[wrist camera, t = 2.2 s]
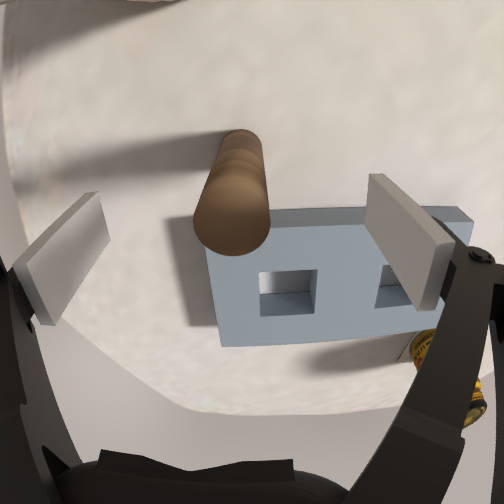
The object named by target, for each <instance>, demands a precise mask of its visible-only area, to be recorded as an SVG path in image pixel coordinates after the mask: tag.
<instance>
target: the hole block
mask: <svg viewBox="0 0 504 504" xmlns="http://www.w3.org/2000/svg"><path fill="white" fill-rule="evenodd" d="M421 208H422V209H423V210H424V211H425V212H426V213H428V214H429V215H430V216H433V217H435V218H437V219H438V220H440V221H442V222H443V223H444V224H445V225H446V226H447V227H448V228H449V229H450V230H451V231H452V232H453V233H454V234H455V235H456V236H457V237H458V238H459V239H460V240H461V241H462V242H463V243H464V244H465V245H466V246H467V247H468V245H469V241H470V237H471V234H472V230H473V226H474V221H473V220H472V219H471V218H469V217H468V216H467V215H466V214H465V213H464V212H463V211H462V210H460V209H459V208H458V207H421ZM269 211H270V220H271V226H270V231H269V234H268V236H267V238H266V240H265V241H264V243H263V244H262V245H261V246H260V247H259V248H257V249H256V250H254V251H253V252H251V253H248V254H246V255H242V256H224V255H220V254H217V253H215V252H213V251H211V250H210V249H208V248H207V247H206V246H205V251H206V258H207V264H208V270H209V277H210V283H211V289H212V295H213V301H214V307H215V313H216V318H217V324H218V330H219V335H220V341H221V346H222V347H242V346H268V345H287V344H303V343H316V342H328V341H339V340H350V339H359V338H368V337H377V336H385V335H393V334H400V333H407V332H414V331H421V330H427V329H434V328H436V326H437V324H438V321H439V319H440V316H441V313H442V310H443V308H444V305H445V303H444V301H443V300H442V298H441V297H440V298H439V301H438V304H437V307H436V309H435V310H432V311H425V312H418V313H417V311H416V309H415V307H414V306H413V304H412V302H411V300H410V299H409V297H408V295H407V293H406V292H405V290H404V288H403V287H402V285H394V286H382V287H379V284H380V279H381V274H382V269H383V265H389V263H388V262H387V260H386V259H385V257H384V255H383V254H382V252H381V251H380V249H379V247H378V246H377V244H376V243H375V241H374V240H373V238H372V237H371V235H370V234H369V232H368V231H367V229H366V228H365V226H364V225H365V216H366V207H350V208H315V209H288V210H269ZM294 270H311V276H310V292H297V293H278V294H259V276H258V272H274V271H294Z"/></svg>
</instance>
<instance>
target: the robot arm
mask: <svg viewBox="0 0 504 504" xmlns="http://www.w3.org/2000/svg"><path fill="white" fill-rule="evenodd" d="M364 226H365V228H366V229H367V231H368V232H369V234H370V235H371V237H372V238H373V240H374V241H375V243H376V244H377V246H378V247H379V249H380V251H381V252H382V254H383V255H384V257H385V259H386V260H387V262H388V263H389V265H390V267H391V268H392V270H393V272H394V273H395V275H396V277H397V278H398V280H399V282H400V283H401V285H402V287H403V288H404V290H405V292H406V293H407V295H408V297H409V299H410V300H411V302H412V304H413V306H414V307H415V309H416V311H417V313H418V312H425V311H432V310H435V309H436V307H437V304H438V301H439V298H440V297H441V298H442V300H443V301H444V303H445V305H444V308H443V310H442V313H441V316H440V319H439V321H438V324H437V326H436V329H435V332H434V334H433V337H432V340H431V342H430V344H429V347H428V349H427V352H426V354H425V356H424V359H423V361H422V363H421V366H420V368H419V370H418V372H417V374H416V377H415V379H414V381H413V383H412V385H411V387H410V389H409V391H408V393H407V395H406V397H405V399H404V401H403V403H402V405H401V407H400V409H399V411H398V413H397V415H396V416H395V418H394V420H393V422H392V424H391V426H390V428H389V429H388V431H387V433H386V434H385V436H384V438H383V440H382V441H381V443H380V445H379V446H378V448H377V450H376V452H375V453H374V455H373V456H372V458H371V459H370V461H369V463H368V464H367V466H366V467H365V469H364V470H363V472H362V473H361V475H360V476H359V478H358V479H357V481H356V482H355V483H354V485H353V486H352V488H351V489H350V491H348V490H346V489H345V488H343V487H342V486H340V485H339V484H337V483H335V482H333V481H331V480H329V479H327V478H324V477H321V476H318V475H316V474H311V473H307V472H303V471H296V470H294V468H293V459H286V460H269V461H242V462H237V463H233V464H228V465H223V466H218V467H213V468H208V469H202V470H196V471H186V470H182V469H179V468H176V467H173V466H170V465H167V464H163V463H161V462H158V461H155V460H153V459H150V458H147V457H145V456H141V455H134V454H127V453H120V452H115V451H109V450H103V449H101V451H100V455H99V459H98V461H92V462H87V463H83V462H82V460H81V459H80V457H79V455H78V453H77V451H76V449H75V447H74V444H73V442H72V440H71V438H70V435H69V433H68V430H67V428H66V425H65V423H64V420H63V418H62V415H61V413H60V411H59V407H58V405H57V402H56V399H55V396H54V393H53V390H52V387H51V385H50V381H49V378H48V375H47V372H46V369H45V365H44V362H43V359H42V355H41V351H40V348H39V344H38V340H37V336H36V332H35V328H34V325H33V324H32V322H31V320H30V319H31V317H32V316H33V314H34V313H35V315H36V317H37V319H38V321H39V322H40V324H41V325H51V326H55V325H56V323H57V322H58V320H59V318H60V317H61V315H62V313H63V312H64V310H65V308H66V307H67V305H68V303H69V302H70V300H71V299H72V297H73V295H74V294H75V292H76V291H77V289H78V288H79V286H80V284H81V283H82V281H83V280H84V278H85V277H86V275H87V274H88V272H89V271H90V269H91V268H92V266H93V265H94V263H95V262H96V260H97V259H98V257H99V256H100V254H101V253H102V252H103V250H104V249H105V247H106V246H107V244H108V243H109V242H110V236H109V233H108V229H107V225H106V221H105V218H104V214H103V210H102V206H101V202H100V197H99V193H98V192H91V193H85V194H84V195H83V196H82V197H81V198H80V199H79V200H77V201H76V202H75V203H74V204H73V205H72V206H71V207H70V208H69V209H67V210H66V211H65V212H64V213H63V214H62V215H61V216H60V217H59V218H58V219H57V220H56V221H55V222H54V223H53V224H52V225H51V226H49V227H48V228H47V229H46V230H45V231H44V232H43V233H42V234H41V235H40V236H39V237H38V238H37V239H36V240H35V241H34V242H33V243H32V244H31V245H30V247H29V248H28V249H27V250H26V251H25V252H24V253H23V254H22V255H21V256H20V257H19V258H18V259H17V260H16V261H15V262H14V264H13V265H12V266H13V267H12V268H11V269H10V270H9V271H8V272H7V271H6V268H5V266H4V264H3V261H2V259H1V257H0V504H441V502H442V500H443V498H444V496H445V494H446V491H447V489H448V487H449V485H450V482H451V480H452V478H453V475H454V473H455V471H456V468H457V465H458V463H459V460H460V458H461V455H462V452H463V449H464V445H465V439H464V438H462V437H461V432H462V429H463V426H464V423H465V420H466V417H467V414H468V410H469V407H470V404H471V400H472V397H473V393H474V390H475V386H476V382H477V378H478V374H479V370H480V365H481V361H482V356H483V352H484V347H485V341H486V336H487V330H488V324H489V328H490V335H491V343H492V351H493V361H494V372H495V387H496V450H495V466H494V476H493V485H492V493H491V504H504V265H502V264H496V263H495V259H494V257H493V256H492V255H491V254H490V253H488V252H487V251H485V250H483V249H481V248H478V247H474V246H468V247H467V246H466V245H465V244H464V243H463V242H462V241H461V240H460V239H459V238H458V237H457V236H456V235H455V234H454V233H453V232H452V231H451V230H450V229H449V228H448V227H447V226H446V225H445V224H444V223H443V222H442V221H440V220H438V219H437V218H435V217H433V216H430V215H429V214H428V213H426V212H425V211H424V210H423V209H422V208H421V207H420V206H419V205H418V204H417V203H416V202H415V201H414V200H413V199H412V198H410V197H409V196H408V195H407V194H406V193H405V192H404V191H403V190H402V189H400V188H399V187H398V186H397V185H396V184H395V183H394V182H393V181H391V180H390V179H389V178H388V177H387V176H386V175H384V174H369V182H368V194H367V205H366V216H365V225H364Z"/></svg>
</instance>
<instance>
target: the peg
mask: <svg viewBox="0 0 504 504" xmlns="http://www.w3.org/2000/svg"><path fill="white" fill-rule="evenodd" d="M193 224H194V229H195V232H196V235H197V237H198V238H199V240H200V241H201V242H202V244H203V245H204V246H206V247H207V248H208V249H210V250H211V251H213V252H215V253H217V254H220V255H224V256H242V255H246V254H248V253H251V252H253V251H254V250H256V249H257V248H259V247H260V246H261V245H262V244H263V243H264V241H265V240H266V238H267V236H268V234H269V231H270V226H271V220H270V211H269V202H268V194H267V185H266V177H265V168H264V160H263V152H262V145H261V142H260V140H259V138H258V137H257V136H256V135H255V134H254V133H252V132H251V131H248V130H243V129H239V130H234V131H232V132H230V133H229V134H227V135H226V136H225V138H224V139H223V141H222V143H221V146H220V148H219V150H218V153H217V155H216V158H215V160H214V163H213V165H212V168H211V171H210V173H209V176H208V178H207V181H206V183H205V186H204V189H203V191H202V194H201V196H200V199H199V202H198V204H197V207H196V210H195V213H194V218H193Z"/></svg>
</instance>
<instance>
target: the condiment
mask: <svg viewBox="0 0 504 504" xmlns="http://www.w3.org/2000/svg"><path fill="white" fill-rule="evenodd" d="M435 329H436V328H434V329H427V330H421V331H416V333H415V334H414V336H413V337H412V339H411V340H410V342H409V344H408V345H407V347H406V348H405V350H404V352H403V353H402V355H401V356H400V358H399V359H398V361H397V362H398V363H400V362H414V365H415V366H416V369H417V372H418V370H419V368H420V366H421V363H422V361H423V359H424V356H425V354H426V352H427V349H428V347H429V344H430V342H431V340H432V337H433V334H434V332H435ZM480 389H481V384H480V380H479V378H477V382H476V386H475V390H474V393H473V397H472V400H471V404H470V407H469V410H468V414H467V417H466V420H465V423H464V426H463V429H464V428H466V427H468V426H469V425H471V424H473V423H474V422H475V421H477V420H478V419H479V418H480V417H481V416H482V415H483V414H484V413H485V411H486V408H487V403H486V402H485V401H484V398H483V394H482V392H481V391H480Z"/></svg>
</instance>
